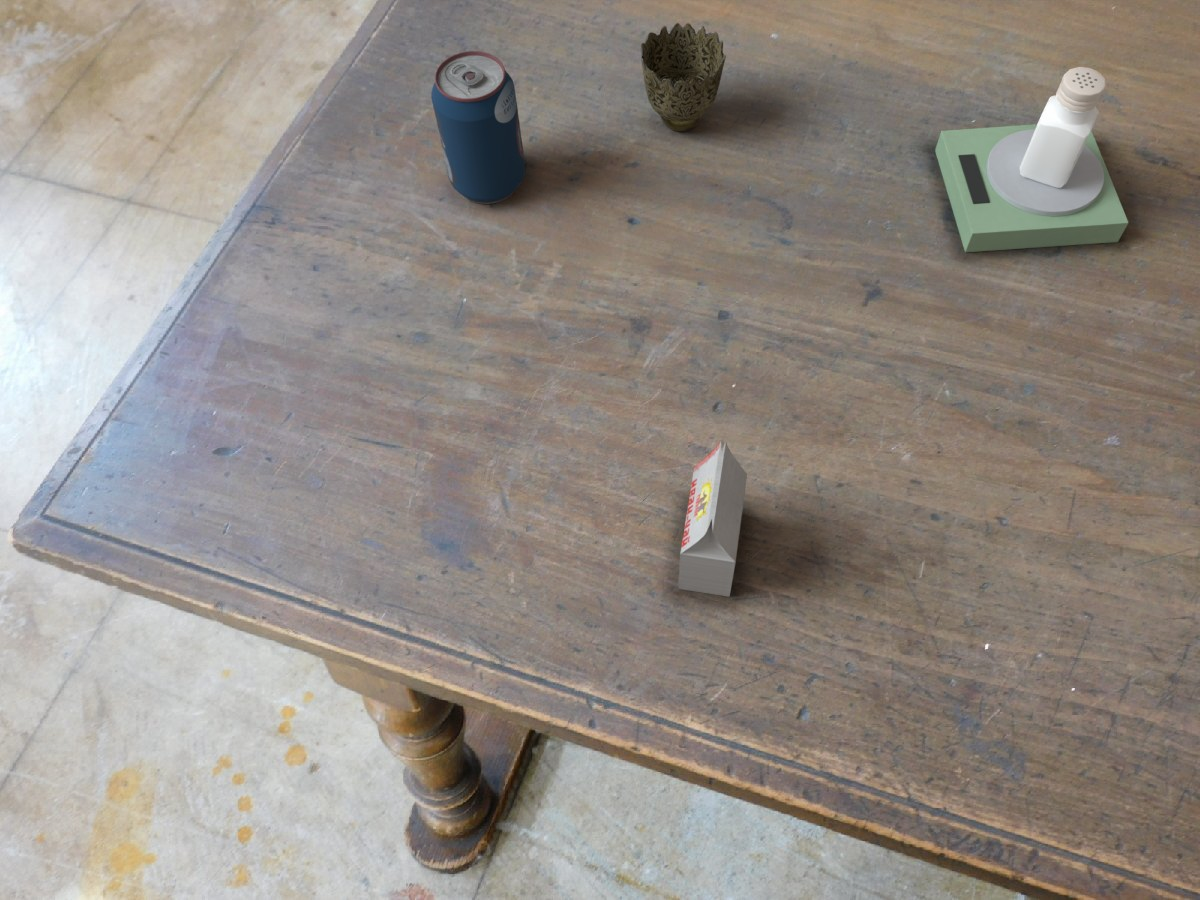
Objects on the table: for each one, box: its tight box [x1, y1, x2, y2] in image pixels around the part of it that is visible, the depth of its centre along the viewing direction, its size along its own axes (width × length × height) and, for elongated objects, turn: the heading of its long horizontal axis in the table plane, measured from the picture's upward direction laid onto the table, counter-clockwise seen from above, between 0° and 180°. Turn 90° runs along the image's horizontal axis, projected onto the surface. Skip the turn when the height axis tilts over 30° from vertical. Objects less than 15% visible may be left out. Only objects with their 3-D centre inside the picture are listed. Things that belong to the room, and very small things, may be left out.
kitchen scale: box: [934, 123, 1129, 253], centre depth 93 cm, size 13×12×3 cm
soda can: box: [430, 50, 526, 205], centre depth 92 cm, size 7×7×12 cm
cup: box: [640, 22, 727, 132], centre depth 97 cm, size 8×7×8 cm
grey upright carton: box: [677, 440, 748, 597], centre depth 74 cm, size 4×7×10 cm, turn 169°
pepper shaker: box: [1020, 66, 1106, 188], centre depth 88 cm, size 4×4×10 cm
